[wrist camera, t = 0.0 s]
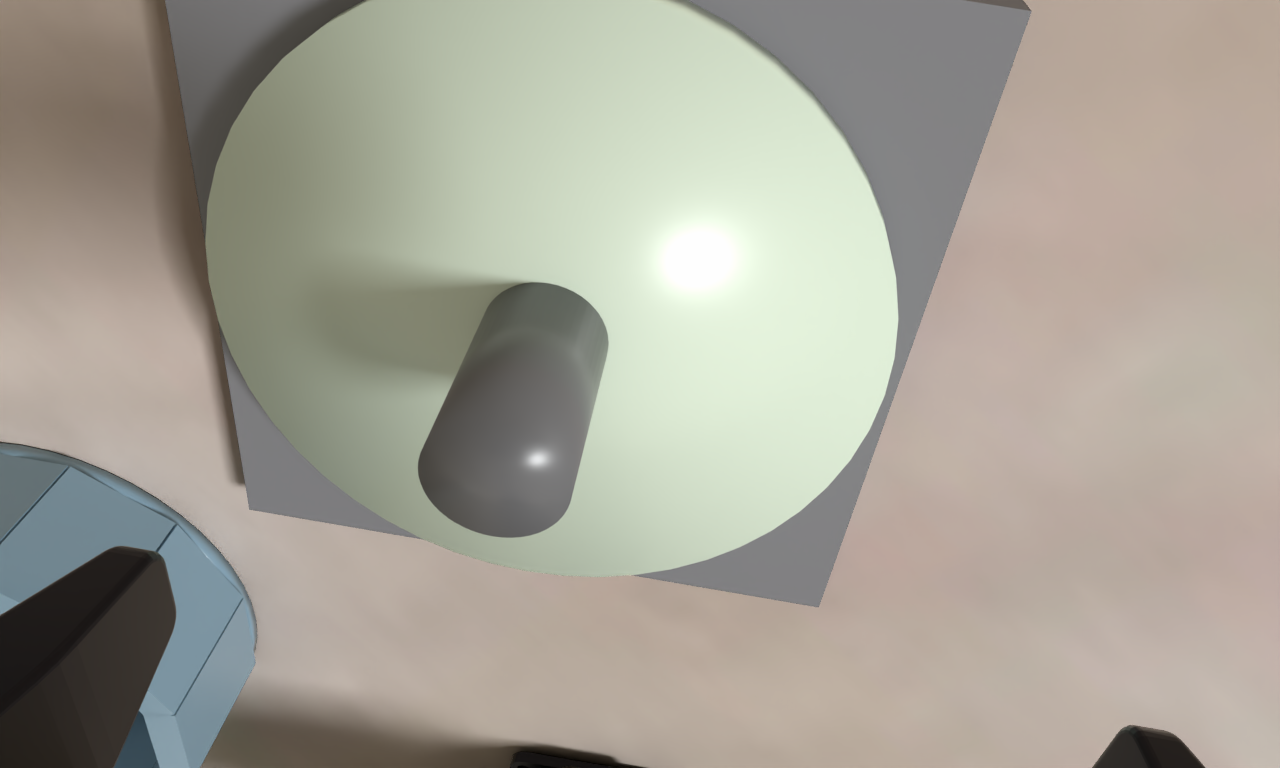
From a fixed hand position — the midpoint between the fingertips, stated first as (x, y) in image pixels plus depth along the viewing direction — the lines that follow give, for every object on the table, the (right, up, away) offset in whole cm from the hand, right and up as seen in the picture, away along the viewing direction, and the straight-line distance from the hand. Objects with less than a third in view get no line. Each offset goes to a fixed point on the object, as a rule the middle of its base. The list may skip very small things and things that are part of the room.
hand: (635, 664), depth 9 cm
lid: (-2, +4, +14) cm, 15 cm away
